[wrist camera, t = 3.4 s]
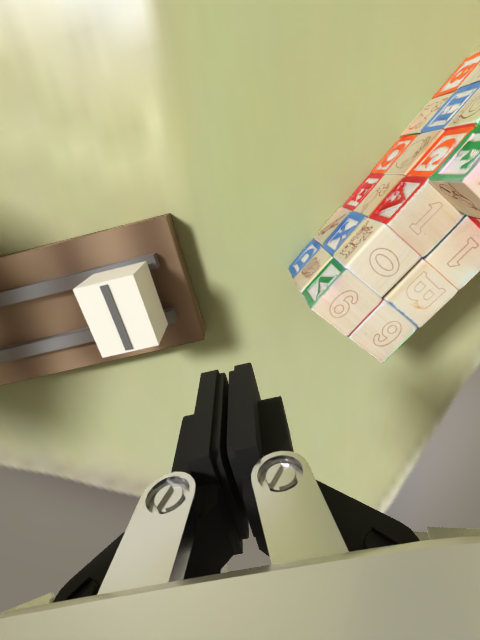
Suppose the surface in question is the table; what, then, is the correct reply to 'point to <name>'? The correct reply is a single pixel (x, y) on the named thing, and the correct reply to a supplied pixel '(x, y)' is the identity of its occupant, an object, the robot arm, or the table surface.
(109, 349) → the fader knob
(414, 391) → the table surface
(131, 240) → the fader console
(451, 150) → the stack of blocks
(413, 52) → the table surface
